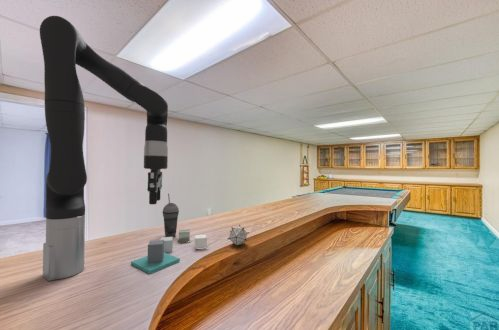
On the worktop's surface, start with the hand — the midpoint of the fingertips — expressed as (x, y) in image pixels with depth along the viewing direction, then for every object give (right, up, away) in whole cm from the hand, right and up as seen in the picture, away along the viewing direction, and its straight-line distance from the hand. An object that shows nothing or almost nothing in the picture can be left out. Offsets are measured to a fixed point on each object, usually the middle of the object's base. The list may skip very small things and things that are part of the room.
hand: (155, 202), depth 76 cm
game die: (+28, -21, +17) cm, 39 cm away
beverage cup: (-4, -21, +27) cm, 34 cm away
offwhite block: (+13, -21, +14) cm, 28 cm away
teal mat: (+1, -20, -1) cm, 20 cm away
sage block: (+4, -21, +22) cm, 30 cm away
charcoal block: (+1, -19, -1) cm, 19 cm away
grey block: (0, -21, +10) cm, 23 cm away
